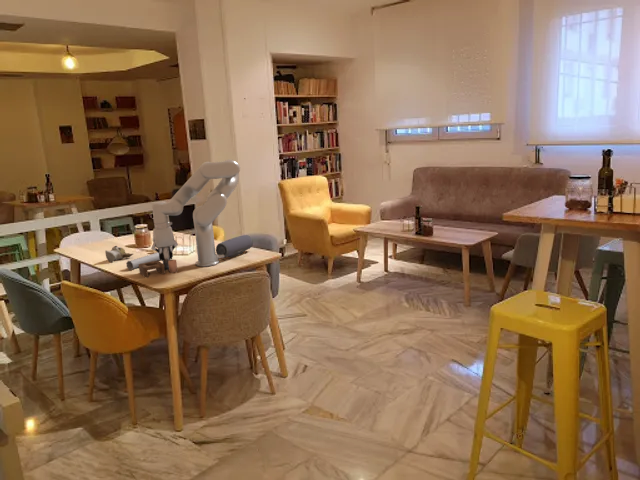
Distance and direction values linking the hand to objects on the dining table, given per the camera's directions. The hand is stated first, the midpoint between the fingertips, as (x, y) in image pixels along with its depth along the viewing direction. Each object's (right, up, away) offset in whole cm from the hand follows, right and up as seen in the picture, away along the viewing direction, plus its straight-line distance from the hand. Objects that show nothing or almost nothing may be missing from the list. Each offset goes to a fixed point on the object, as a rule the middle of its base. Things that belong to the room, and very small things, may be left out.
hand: (166, 259), depth 268 cm
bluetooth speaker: (+33, +1, +22) cm, 40 cm away
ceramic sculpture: (-36, -2, +26) cm, 44 cm away
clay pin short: (+5, -6, -5) cm, 10 cm away
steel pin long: (0, -5, +1) cm, 5 cm away
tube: (-14, -3, +14) cm, 20 cm away
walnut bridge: (-5, -7, -6) cm, 11 cm away
